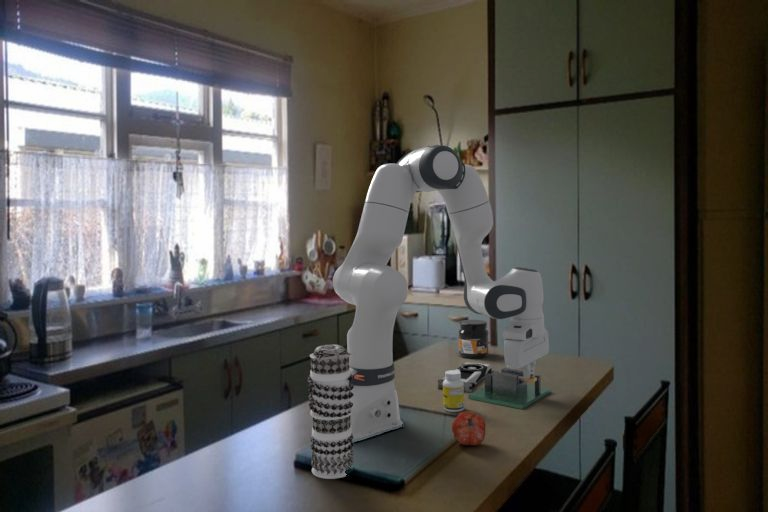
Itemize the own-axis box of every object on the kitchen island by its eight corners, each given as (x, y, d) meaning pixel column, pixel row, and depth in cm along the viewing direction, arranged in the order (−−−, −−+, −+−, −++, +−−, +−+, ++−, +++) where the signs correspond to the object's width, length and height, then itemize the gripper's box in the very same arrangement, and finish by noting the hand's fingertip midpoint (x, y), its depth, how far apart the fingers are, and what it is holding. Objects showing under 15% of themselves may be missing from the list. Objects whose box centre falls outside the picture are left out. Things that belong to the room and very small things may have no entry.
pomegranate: (450, 448, 140) (447, 435, 132) (456, 417, 144) (453, 402, 136) (483, 454, 138) (482, 441, 130) (488, 423, 142) (487, 408, 134)
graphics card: (437, 379, 179) (465, 359, 201) (437, 390, 179) (465, 370, 201) (471, 383, 174) (495, 362, 197) (471, 395, 175) (495, 373, 197)
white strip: (533, 383, 166) (532, 378, 166) (487, 380, 174) (487, 375, 174) (537, 381, 168) (537, 375, 168) (492, 377, 176) (492, 372, 176)
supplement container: (464, 360, 212) (464, 325, 211) (454, 353, 223) (454, 320, 222) (493, 358, 214) (493, 323, 214) (482, 351, 225) (482, 318, 224)
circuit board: (522, 409, 160) (522, 384, 159) (468, 398, 170) (468, 375, 169) (550, 392, 174) (550, 369, 173) (499, 383, 184) (499, 361, 183)
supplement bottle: (442, 406, 164) (442, 369, 163) (463, 405, 163) (462, 369, 163) (443, 412, 158) (443, 374, 157) (465, 412, 158) (464, 374, 157)
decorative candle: (330, 457, 131) (327, 340, 129) (364, 467, 126) (362, 345, 124) (300, 472, 124) (296, 348, 122) (335, 483, 118) (332, 354, 116)
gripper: (533, 319, 177) (534, 366, 179) (499, 333, 161) (500, 385, 163) (554, 321, 173) (555, 369, 175) (521, 335, 158) (523, 388, 159)
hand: (528, 377), depth 168 cm, fingers closed, pressing on white strip
